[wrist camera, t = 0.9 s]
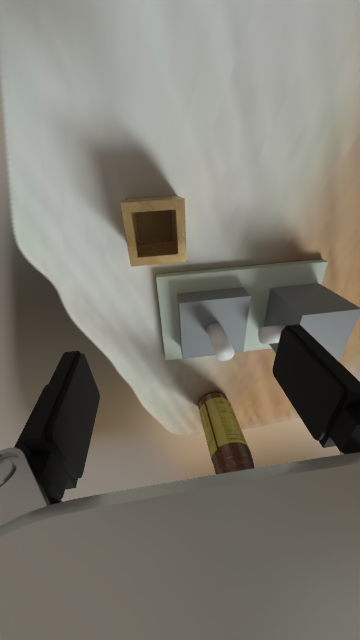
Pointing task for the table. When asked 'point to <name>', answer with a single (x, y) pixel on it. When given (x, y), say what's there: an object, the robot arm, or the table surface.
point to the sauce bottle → (224, 435)
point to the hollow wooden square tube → (155, 250)
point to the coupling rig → (250, 309)
